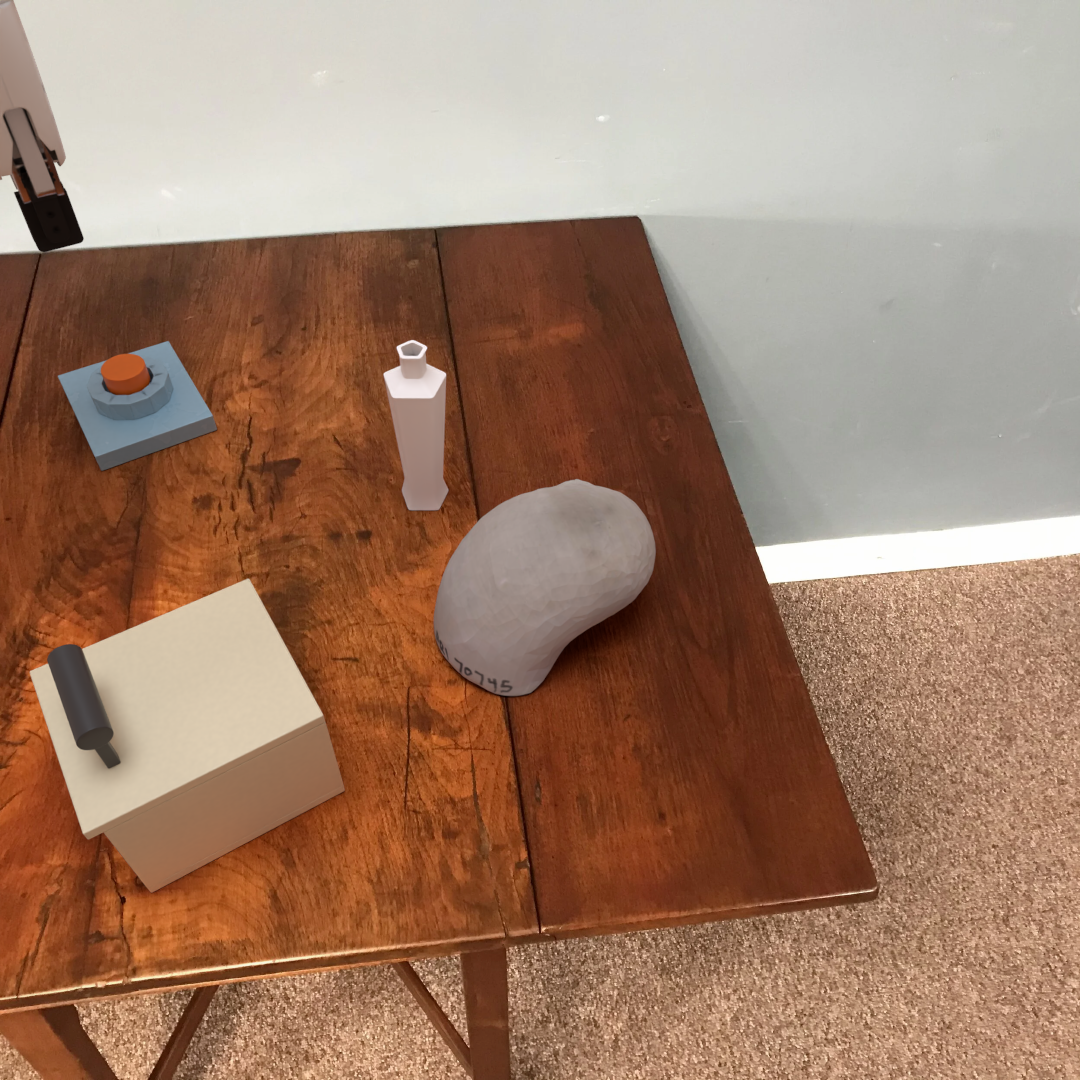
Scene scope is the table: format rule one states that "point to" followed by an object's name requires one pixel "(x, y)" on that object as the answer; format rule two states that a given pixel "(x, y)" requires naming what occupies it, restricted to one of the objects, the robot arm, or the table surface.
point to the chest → (229, 809)
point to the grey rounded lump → (539, 581)
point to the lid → (170, 704)
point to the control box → (138, 409)
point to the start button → (125, 374)
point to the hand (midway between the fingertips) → (59, 241)
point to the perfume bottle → (419, 425)
